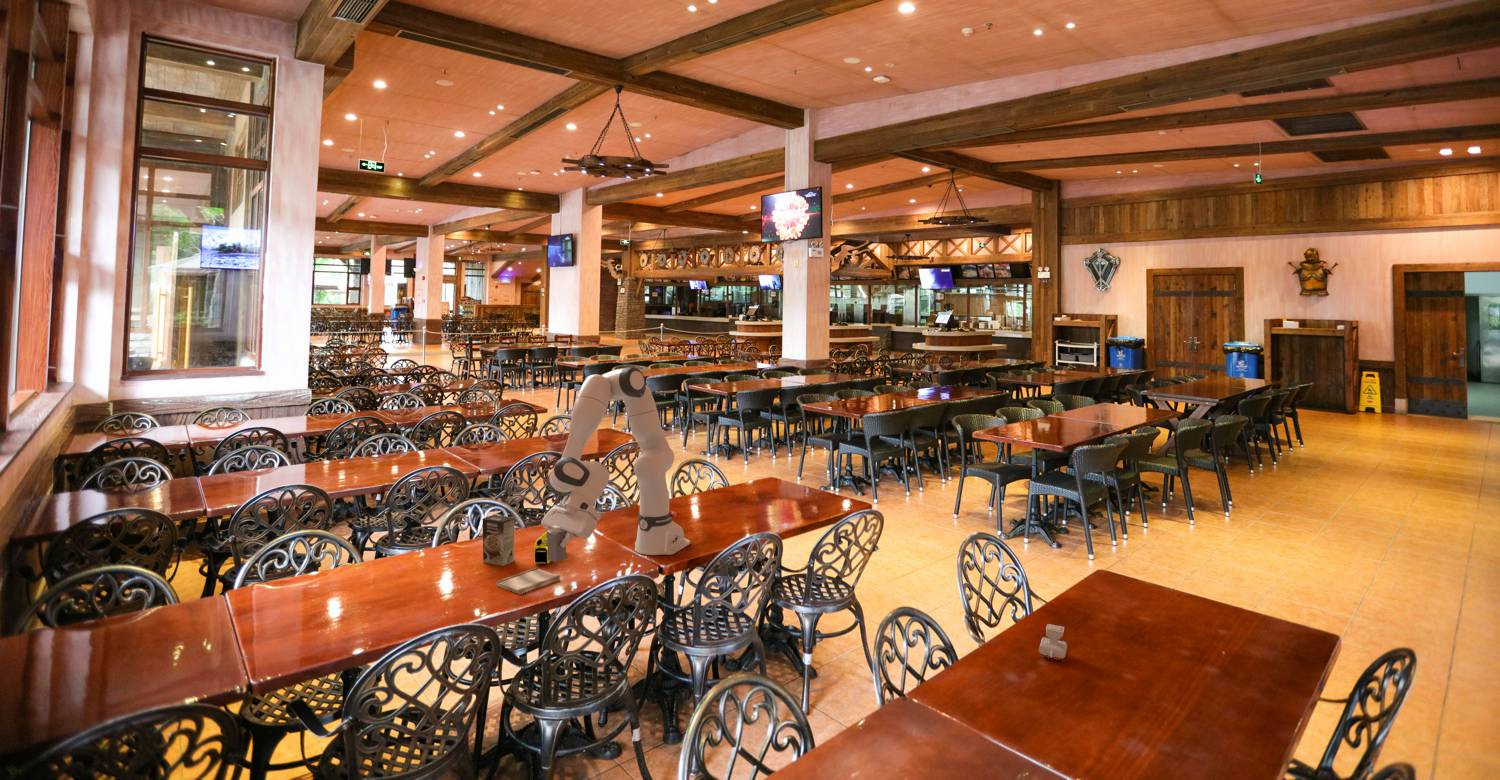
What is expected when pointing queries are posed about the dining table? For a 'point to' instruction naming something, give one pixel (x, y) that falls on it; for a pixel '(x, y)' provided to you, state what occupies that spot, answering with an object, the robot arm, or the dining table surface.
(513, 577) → the board
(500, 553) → the coffee box
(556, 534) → the grey bottle
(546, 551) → the yellow toy chassis
